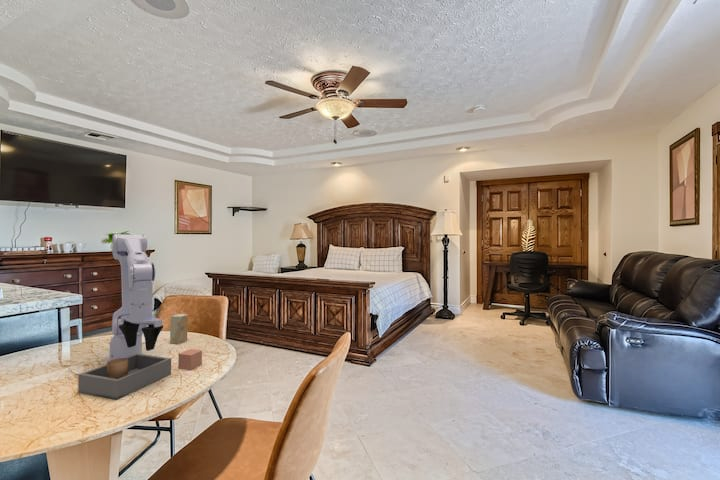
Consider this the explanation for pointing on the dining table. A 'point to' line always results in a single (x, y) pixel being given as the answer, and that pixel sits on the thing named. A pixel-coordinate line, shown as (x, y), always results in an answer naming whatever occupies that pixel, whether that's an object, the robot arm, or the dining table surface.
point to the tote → (125, 377)
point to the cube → (190, 359)
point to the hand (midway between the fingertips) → (140, 348)
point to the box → (178, 328)
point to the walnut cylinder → (117, 368)
